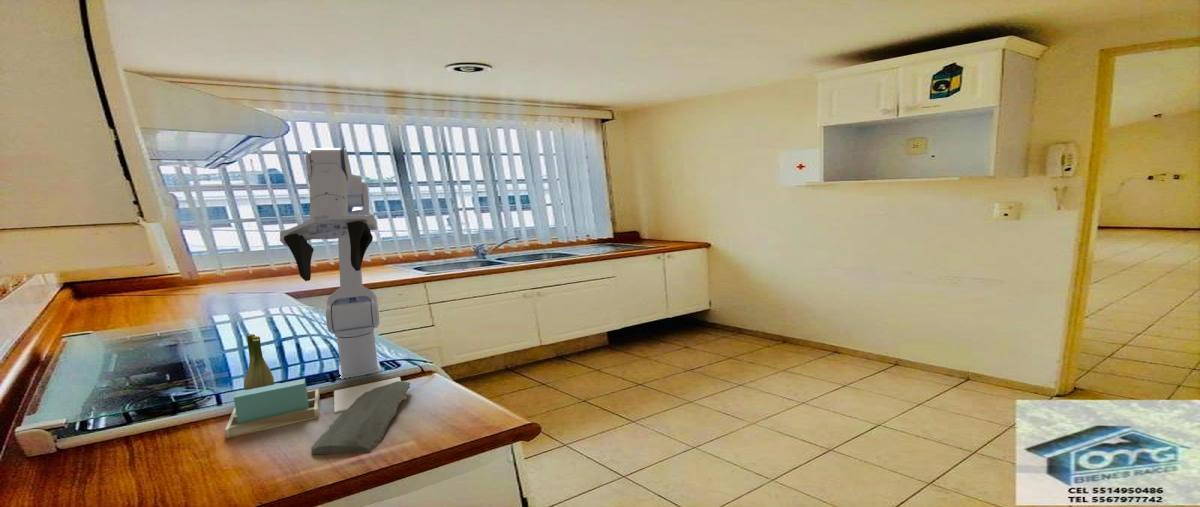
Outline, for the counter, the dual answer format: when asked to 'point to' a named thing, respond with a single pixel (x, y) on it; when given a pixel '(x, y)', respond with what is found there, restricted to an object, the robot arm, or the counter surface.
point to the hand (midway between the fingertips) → (330, 273)
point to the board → (271, 401)
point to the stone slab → (362, 421)
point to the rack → (274, 418)
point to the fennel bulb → (257, 366)
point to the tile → (357, 394)
